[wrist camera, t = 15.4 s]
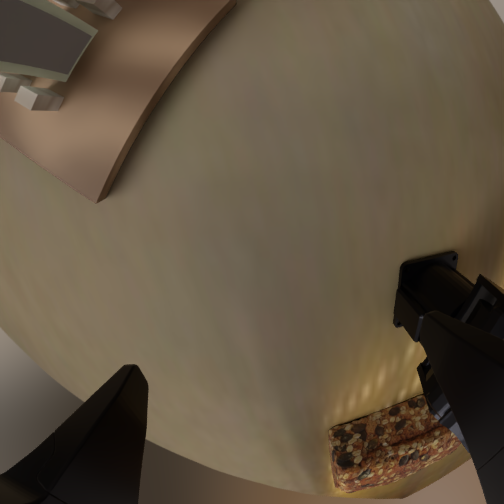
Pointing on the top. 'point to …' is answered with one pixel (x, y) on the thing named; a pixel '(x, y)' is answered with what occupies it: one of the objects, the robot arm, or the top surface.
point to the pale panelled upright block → (41, 39)
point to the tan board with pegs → (104, 87)
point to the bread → (388, 446)
